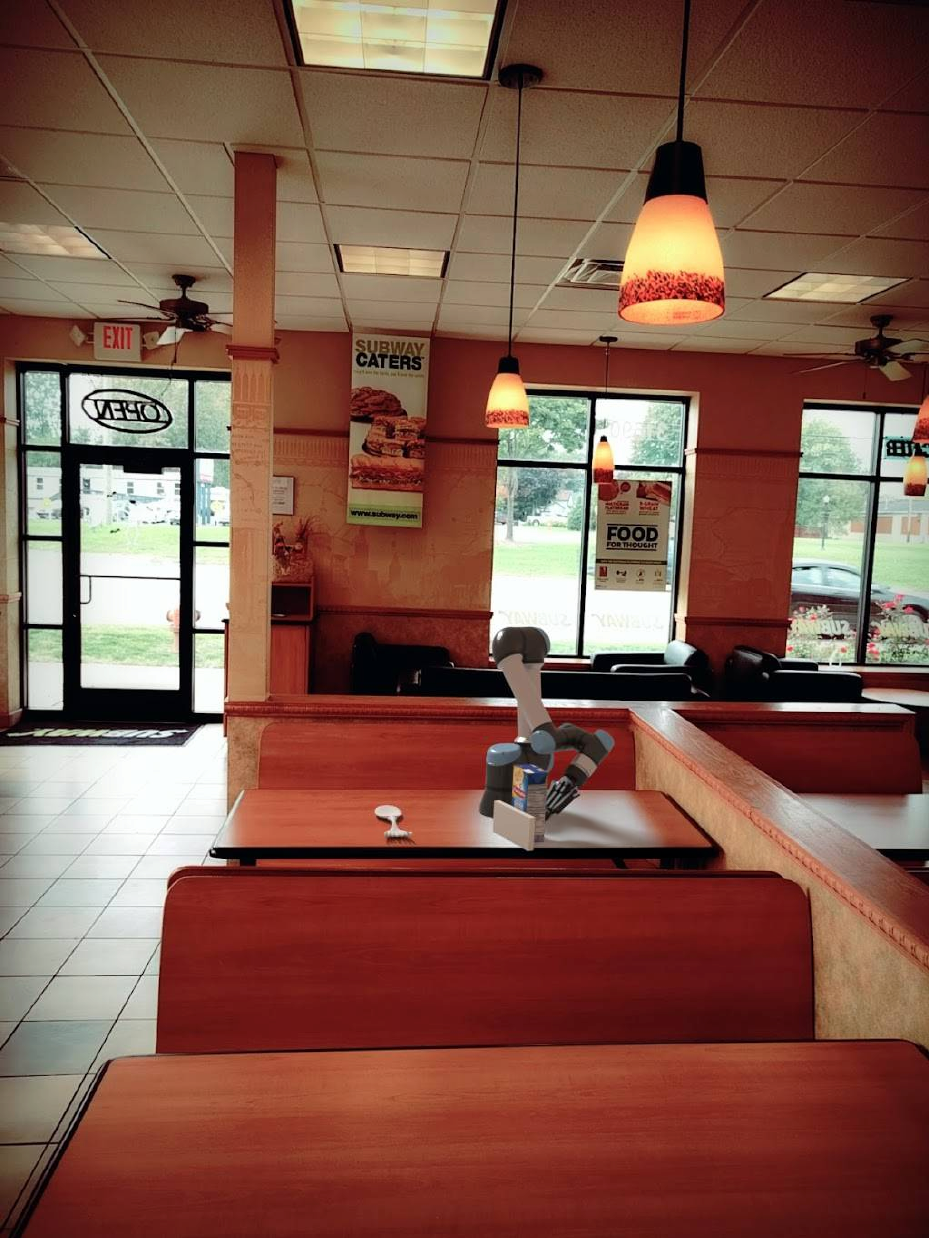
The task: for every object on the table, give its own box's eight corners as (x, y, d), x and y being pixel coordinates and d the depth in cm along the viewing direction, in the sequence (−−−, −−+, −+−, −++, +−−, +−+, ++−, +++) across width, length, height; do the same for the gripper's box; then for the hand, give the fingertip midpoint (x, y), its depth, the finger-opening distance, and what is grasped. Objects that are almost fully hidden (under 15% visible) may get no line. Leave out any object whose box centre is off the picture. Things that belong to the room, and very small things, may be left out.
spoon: (383, 843, 253) (383, 832, 252) (372, 812, 284) (373, 802, 284) (412, 843, 255) (413, 831, 254) (399, 812, 286) (399, 802, 286)
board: (492, 831, 269) (494, 800, 269) (497, 830, 270) (499, 800, 270) (527, 850, 252) (529, 818, 252) (533, 849, 253) (535, 817, 253)
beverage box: (524, 843, 259) (528, 773, 258) (509, 832, 269) (513, 764, 268) (544, 841, 261) (548, 772, 260) (529, 830, 272) (533, 764, 270)
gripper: (598, 782, 269) (553, 840, 261) (573, 773, 280) (529, 828, 272) (586, 767, 265) (540, 825, 258) (561, 758, 277) (517, 813, 269)
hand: (535, 826), depth 265 cm, fingers closed
